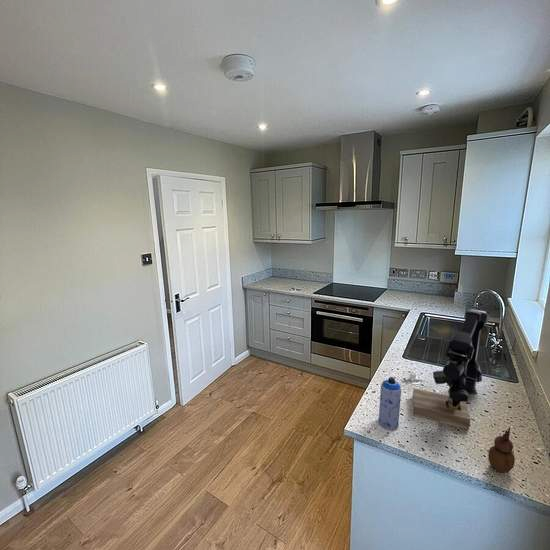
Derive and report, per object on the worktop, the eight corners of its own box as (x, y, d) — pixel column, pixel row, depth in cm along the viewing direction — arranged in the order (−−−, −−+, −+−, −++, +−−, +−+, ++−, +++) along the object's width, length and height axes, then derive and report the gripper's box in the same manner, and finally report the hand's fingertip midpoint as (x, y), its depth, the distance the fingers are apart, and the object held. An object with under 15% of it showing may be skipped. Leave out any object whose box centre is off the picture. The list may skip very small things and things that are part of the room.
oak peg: (446, 405, 125) (449, 386, 124) (457, 408, 124) (460, 388, 122) (447, 411, 122) (450, 391, 120) (459, 414, 120) (461, 394, 118)
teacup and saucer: (422, 379, 151) (423, 371, 150) (422, 387, 144) (423, 379, 143) (404, 374, 155) (404, 367, 154) (402, 382, 148) (403, 375, 147)
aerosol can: (400, 431, 114) (405, 385, 110) (379, 429, 116) (383, 383, 112) (396, 417, 122) (399, 374, 118) (376, 416, 123) (379, 372, 119)
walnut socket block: (412, 396, 136) (413, 388, 135) (463, 408, 127) (464, 398, 127) (412, 415, 123) (413, 406, 122) (469, 429, 115) (470, 419, 114)
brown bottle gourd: (502, 460, 100) (509, 422, 97) (516, 475, 95) (524, 435, 92) (482, 461, 100) (489, 423, 97) (496, 476, 94) (502, 436, 91)
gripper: (433, 355, 131) (430, 386, 134) (437, 376, 114) (433, 411, 117) (463, 360, 126) (459, 392, 129) (471, 382, 109) (465, 419, 113)
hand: (453, 403), depth 122 cm, fingers closed on oak peg, 4 cm apart
